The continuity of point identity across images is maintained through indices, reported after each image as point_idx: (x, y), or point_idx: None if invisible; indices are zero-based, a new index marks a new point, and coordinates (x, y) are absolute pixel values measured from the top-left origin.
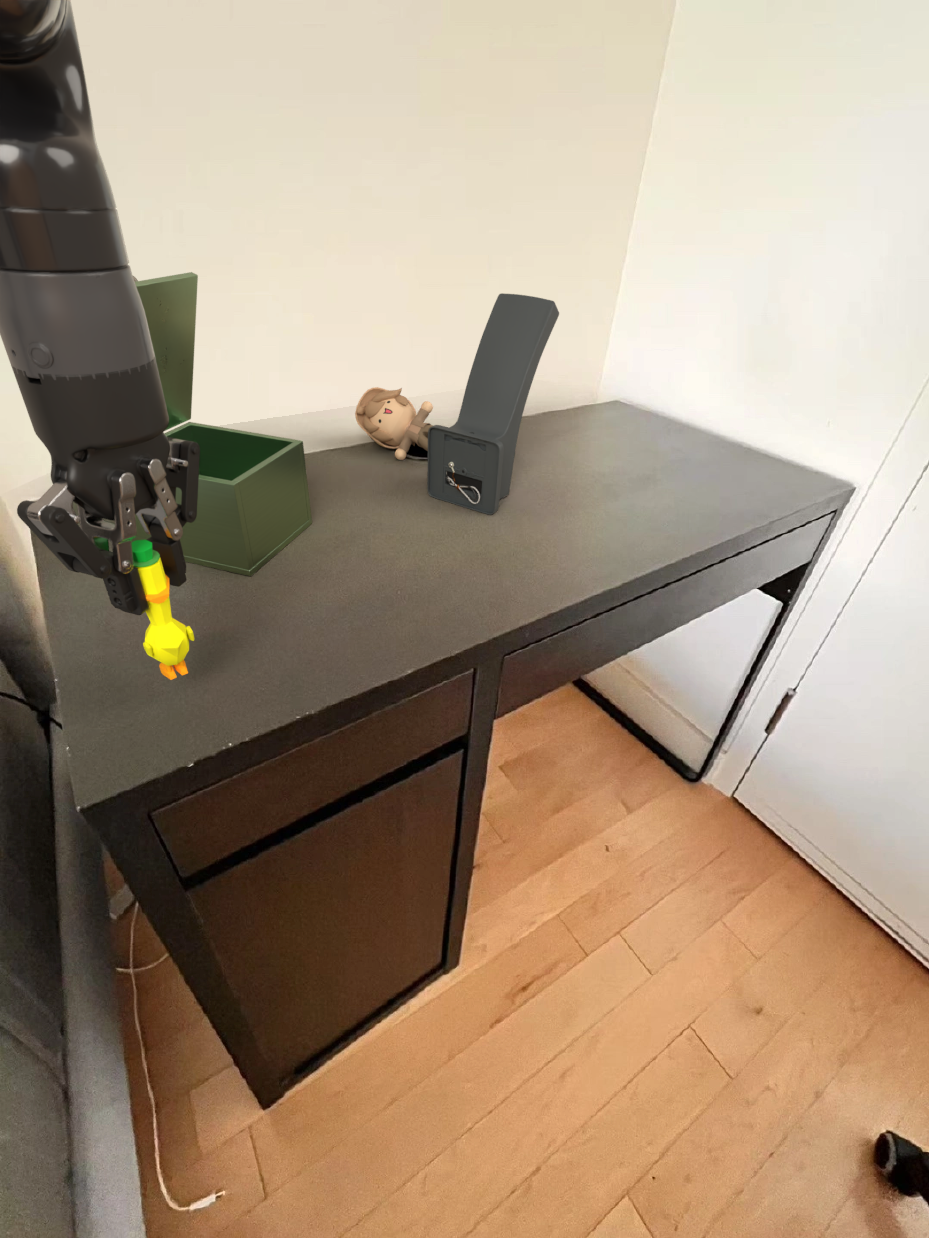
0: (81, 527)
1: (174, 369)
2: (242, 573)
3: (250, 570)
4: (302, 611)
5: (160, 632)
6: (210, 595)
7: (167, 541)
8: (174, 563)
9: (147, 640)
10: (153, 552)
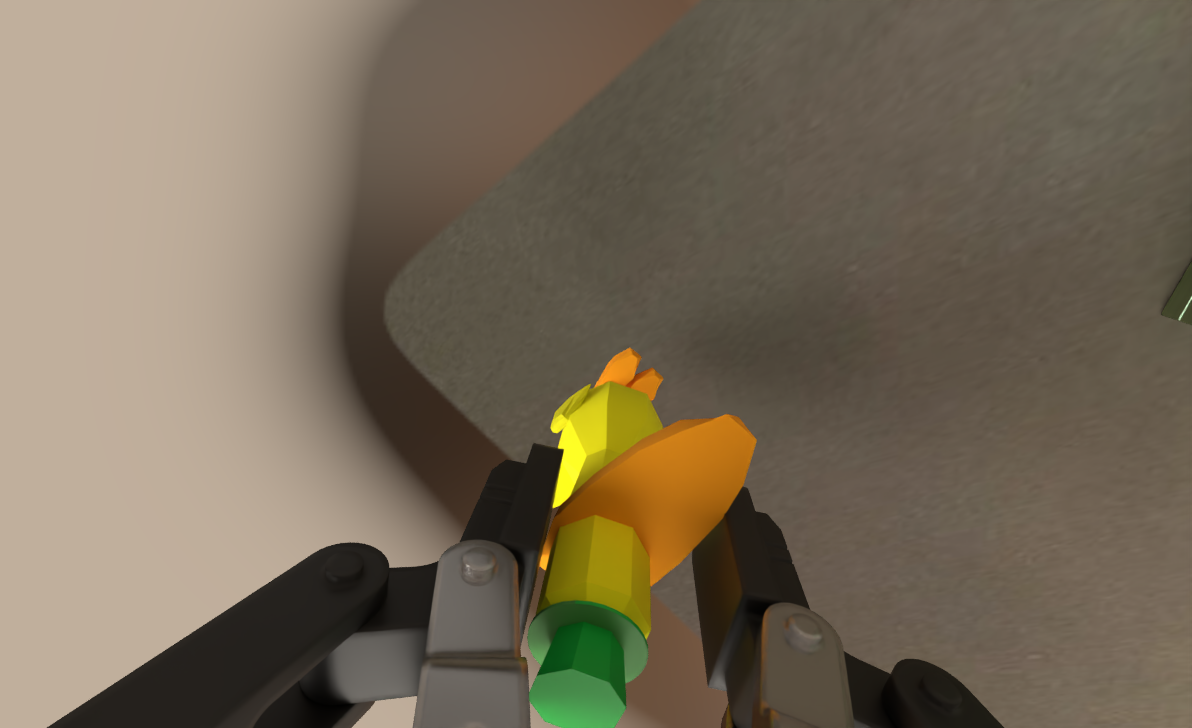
0: (420, 677)
1: None
2: (1179, 289)
3: (1180, 320)
4: (960, 487)
5: (575, 473)
6: (1057, 238)
7: (725, 680)
8: (701, 615)
9: (566, 428)
10: (630, 665)
